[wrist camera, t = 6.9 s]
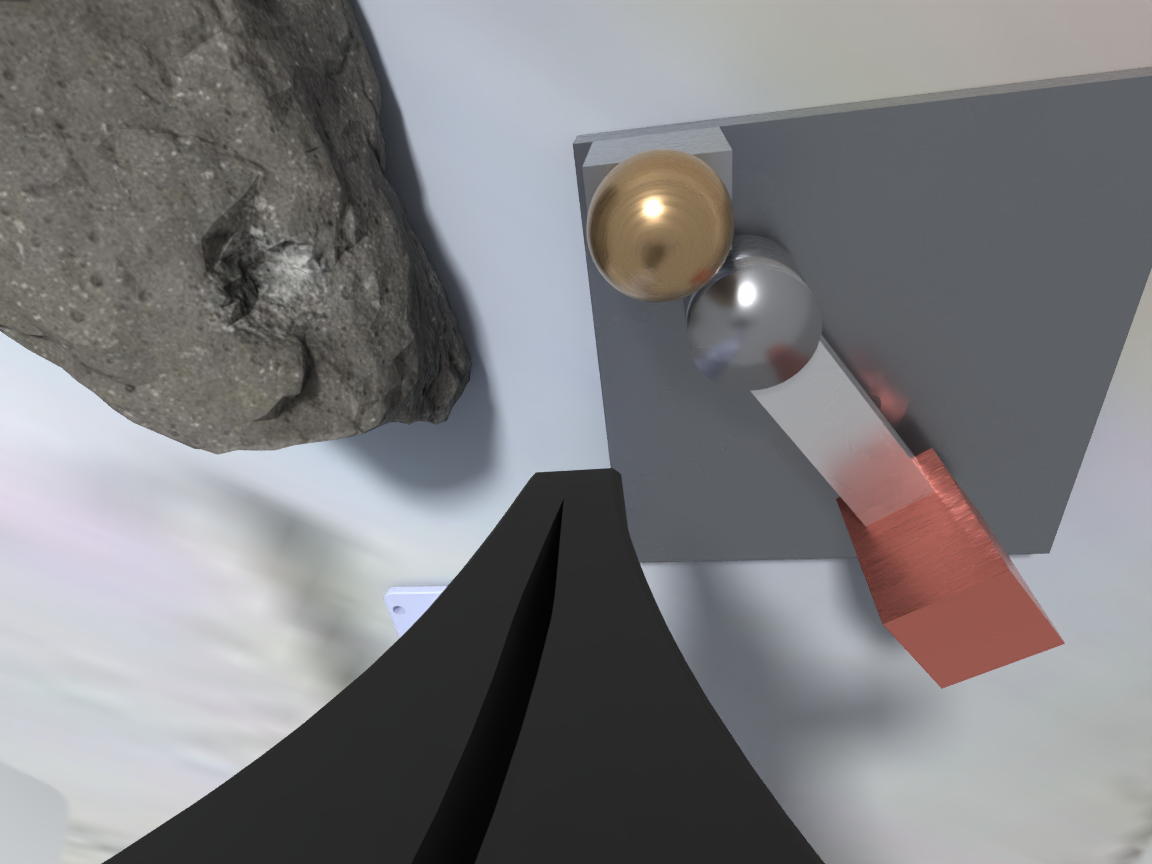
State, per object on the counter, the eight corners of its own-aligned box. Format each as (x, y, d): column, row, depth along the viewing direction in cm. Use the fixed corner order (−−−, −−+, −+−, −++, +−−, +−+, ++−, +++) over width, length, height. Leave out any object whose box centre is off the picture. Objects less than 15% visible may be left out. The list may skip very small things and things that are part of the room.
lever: (659, 286, 17) (662, 384, 13) (756, 209, 16) (798, 289, 11) (880, 544, 21) (941, 688, 17) (972, 499, 20) (1065, 643, 15)
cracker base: (1031, 528, 22) (1166, 714, 16) (623, 539, 24) (614, 707, 19) (1192, 42, 15) (1551, 66, 9) (575, 118, 17) (535, 179, 11)
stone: (622, 329, 17) (334, 628, 12) (460, 369, 24) (231, 572, 19) (61, -610, 10) (-1129, -819, 5) (55, -183, 17) (-470, -97, 12)
